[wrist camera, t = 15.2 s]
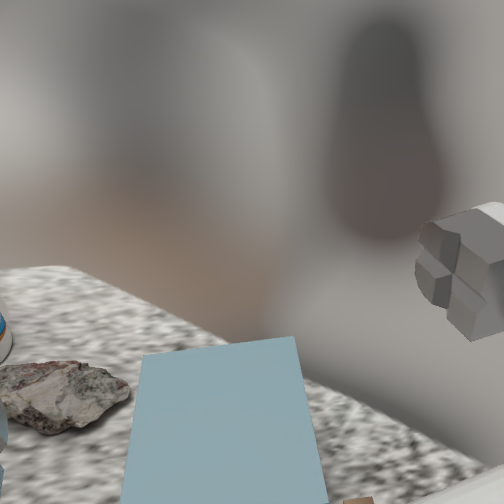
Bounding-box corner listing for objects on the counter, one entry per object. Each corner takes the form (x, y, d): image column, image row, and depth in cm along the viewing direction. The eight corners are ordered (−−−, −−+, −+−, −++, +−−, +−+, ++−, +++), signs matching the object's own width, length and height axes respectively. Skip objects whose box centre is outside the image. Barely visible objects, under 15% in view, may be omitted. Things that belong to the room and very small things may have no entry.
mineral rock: (140, 386, 48) (129, 357, 45) (96, 456, 42) (80, 427, 39) (27, 360, 53) (11, 333, 50) (-27, 420, 47) (-48, 392, 44)
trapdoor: (97, 676, 22) (73, 651, 20) (143, 375, 38) (132, 343, 36) (364, 641, 22) (366, 612, 20) (301, 354, 38) (299, 321, 36)
